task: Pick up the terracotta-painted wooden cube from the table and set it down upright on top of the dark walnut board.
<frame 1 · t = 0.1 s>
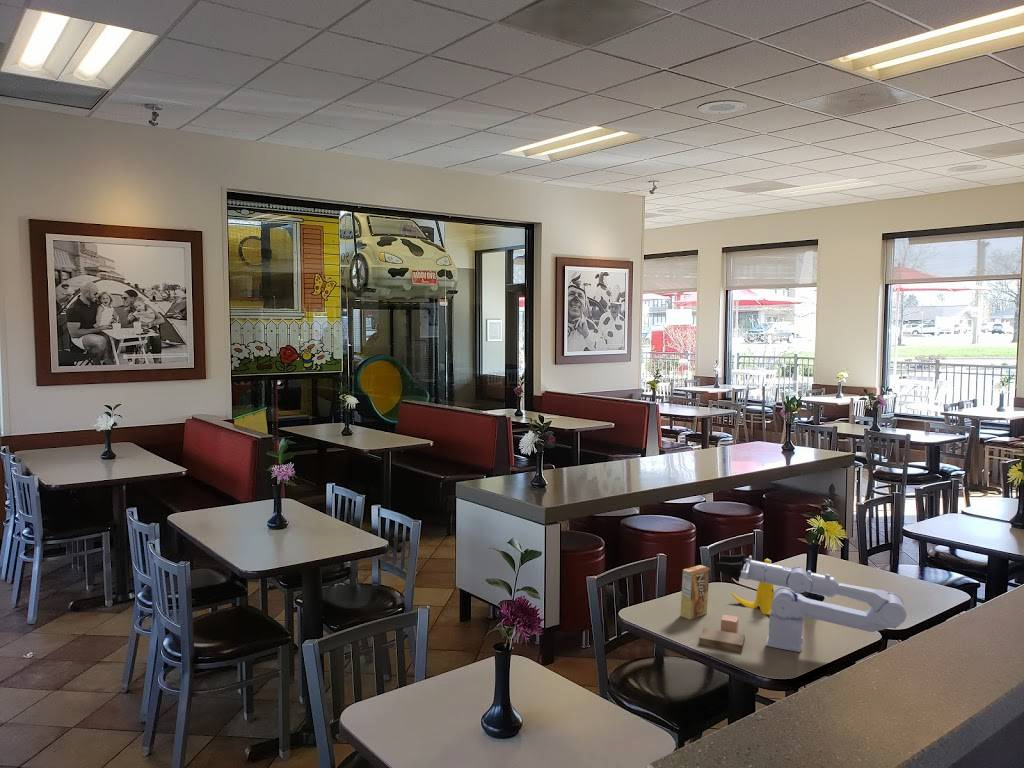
hand: (718, 562, 231), 22 cm above the table, tool horizontal, fingers open, 7 cm apart
candy box: (693, 615, 246), on the table
banana peel: (757, 608, 255), on the table
walnut board: (722, 642, 225), on the table
terracotta cube: (729, 632, 233), on the table
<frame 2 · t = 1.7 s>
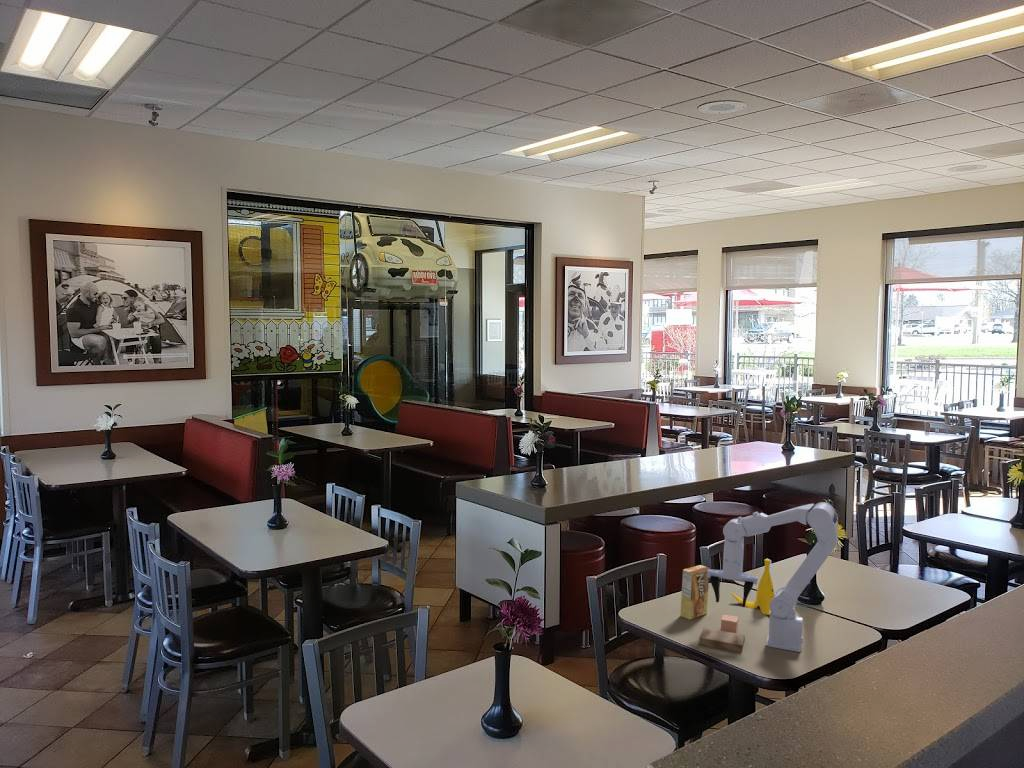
hand: (730, 603, 232), 9 cm above the table, tool pointing down, fingers open, 7 cm apart
nothing on the table moved.
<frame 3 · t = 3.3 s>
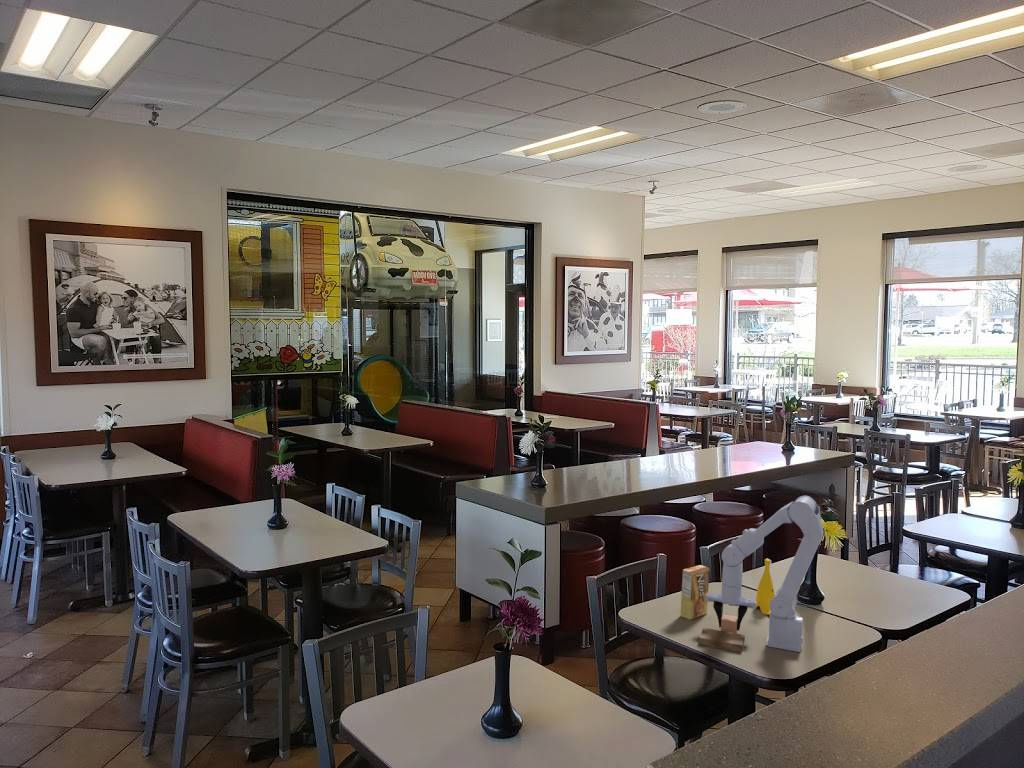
hand: (729, 627, 233), 1 cm above the table, tool pointing down, fingers closed on terracotta cube, 4 cm apart
terracotta cube: (729, 632, 233), on the table, touching gripper
everything else where it was.
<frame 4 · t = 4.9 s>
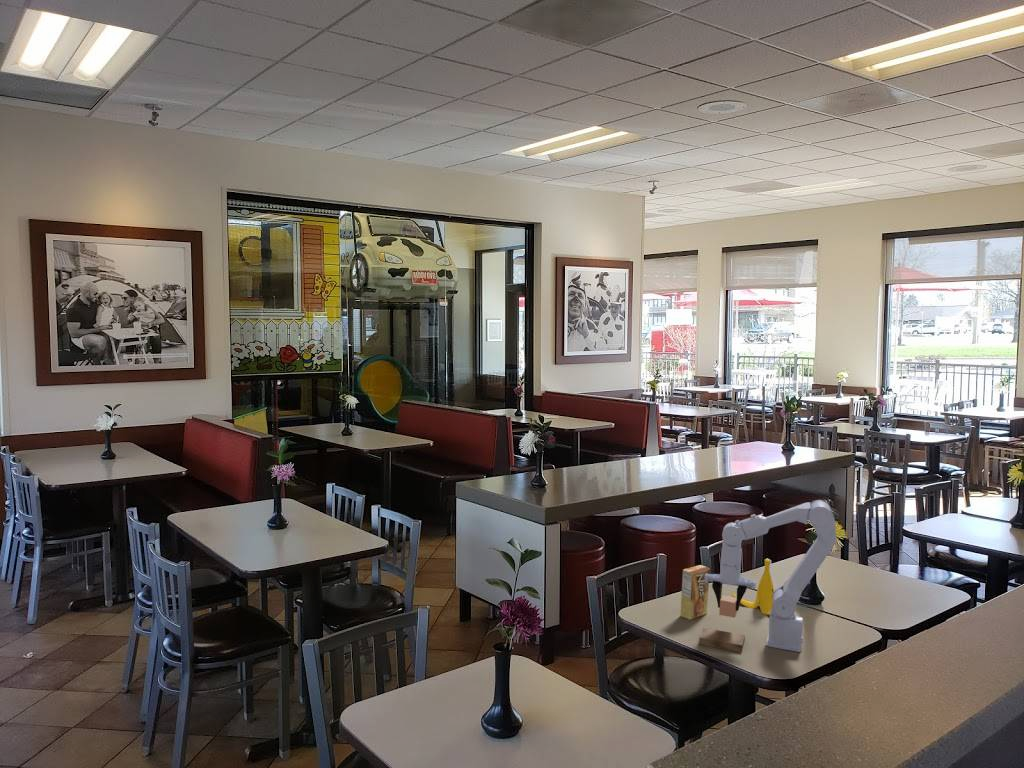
hand: (728, 608, 230), 8 cm above the table, tool pointing down, fingers closed on terracotta cube, 4 cm apart
terracotta cube: (728, 613, 230), point 7 cm above the table, touching gripper
everything else where it was.
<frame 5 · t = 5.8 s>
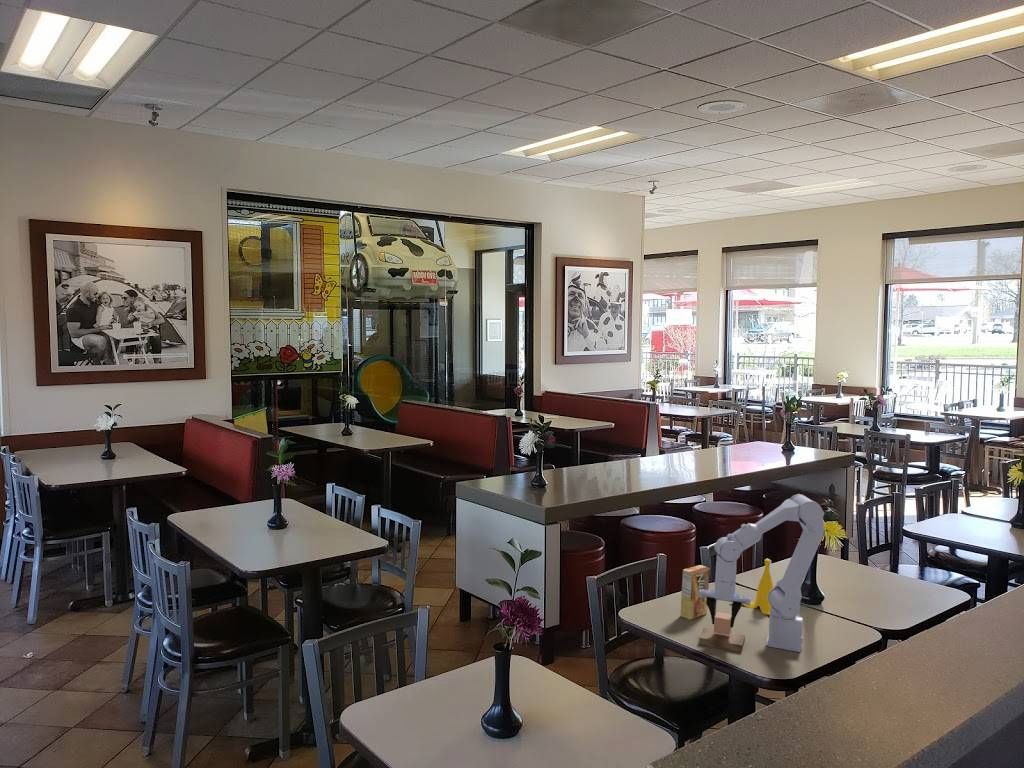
hand: (722, 624, 225), 5 cm above the table, tool pointing down, fingers closed on terracotta cube, 4 cm apart
terracotta cube: (722, 630, 225), point 4 cm above the table, touching gripper
everything else where it was.
when the fingers open (4 cm above the table, at t = 6.4 s): terracotta cube stays where it is, resting on walnut board.
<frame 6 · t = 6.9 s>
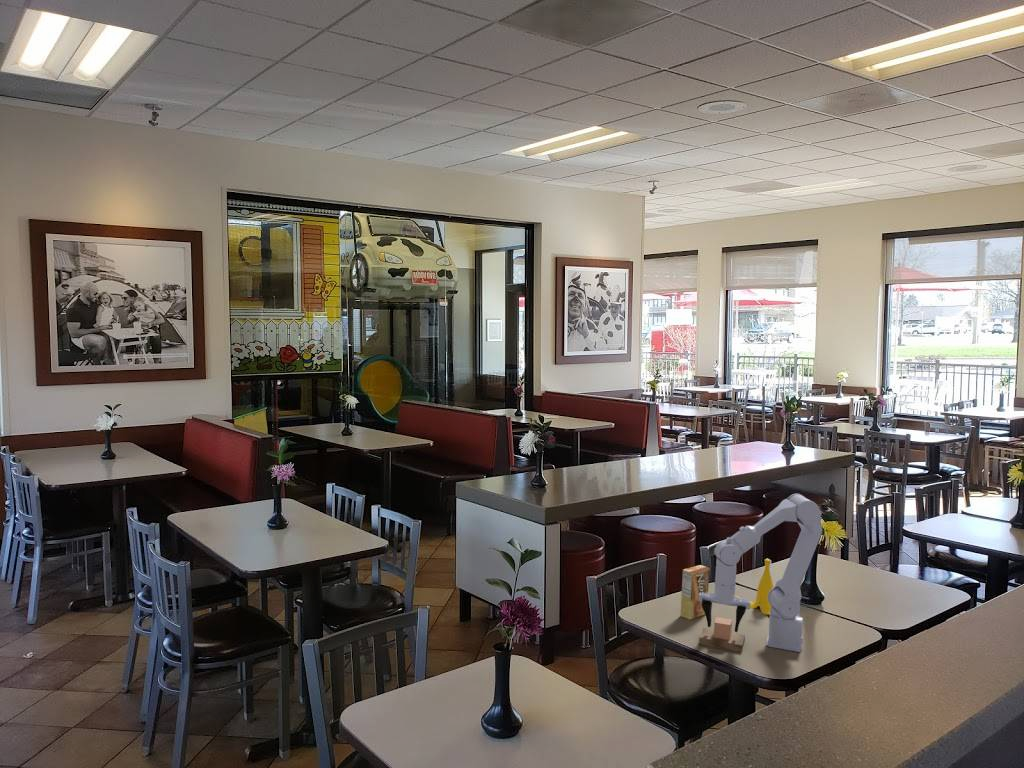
hand: (722, 628, 225), 4 cm above the table, tool pointing down, fingers open, 7 cm apart
terracotta cube: (722, 635, 225), point 2 cm above the table, touching walnut board
everything else where it was.
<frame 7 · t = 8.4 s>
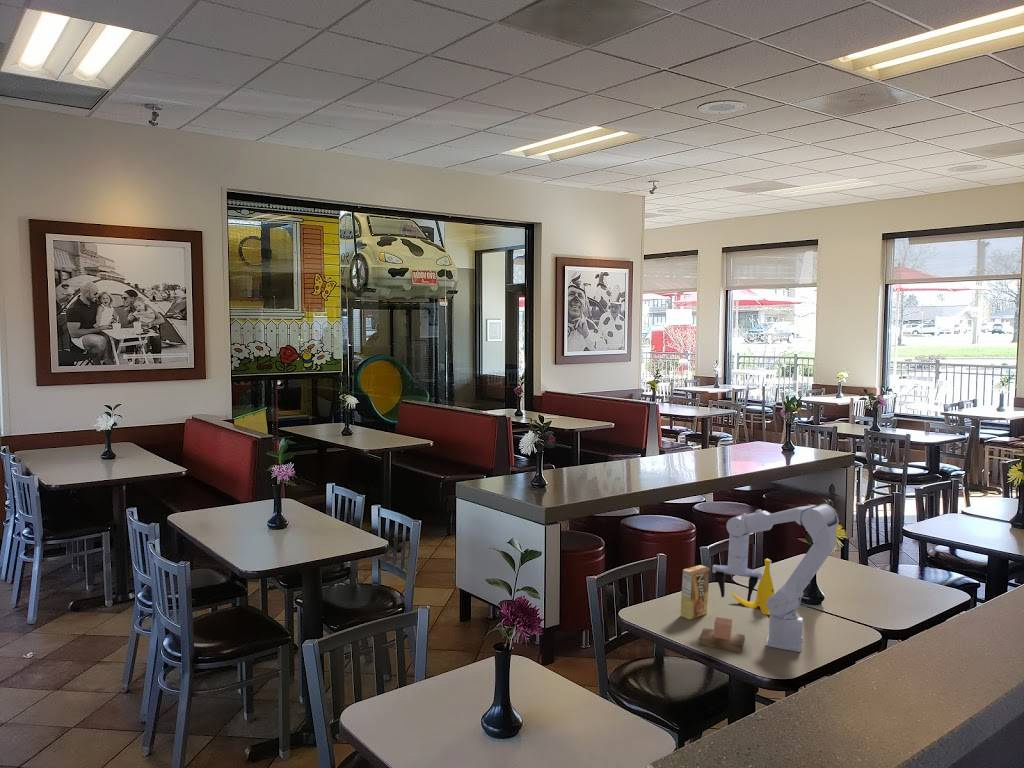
hand: (735, 598, 235), 9 cm above the table, tool pointing down, fingers open, 7 cm apart
nothing on the table moved.
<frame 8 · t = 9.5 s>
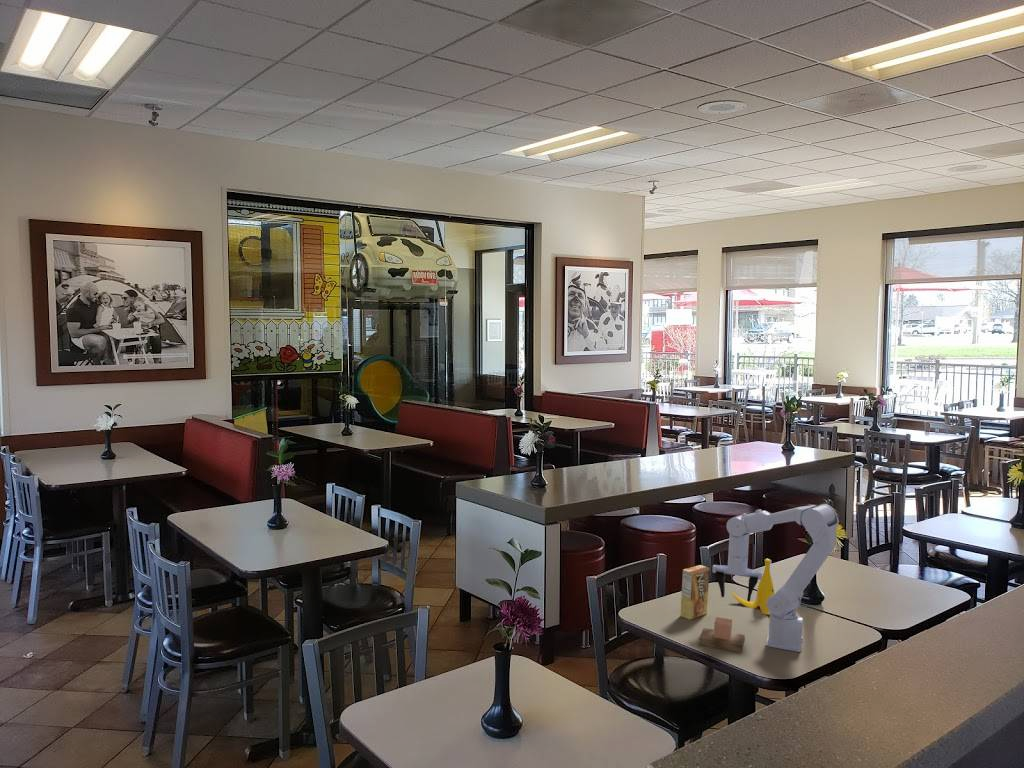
hand: (735, 598, 235), 9 cm above the table, tool pointing down, fingers open, 7 cm apart
nothing on the table moved.
at the end: terracotta cube 0.3 cm off-centre on the walnut board, point 2.0 cm above the walnut board's base; terracotta cube tilted 0°; the gripper is holding nothing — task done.
